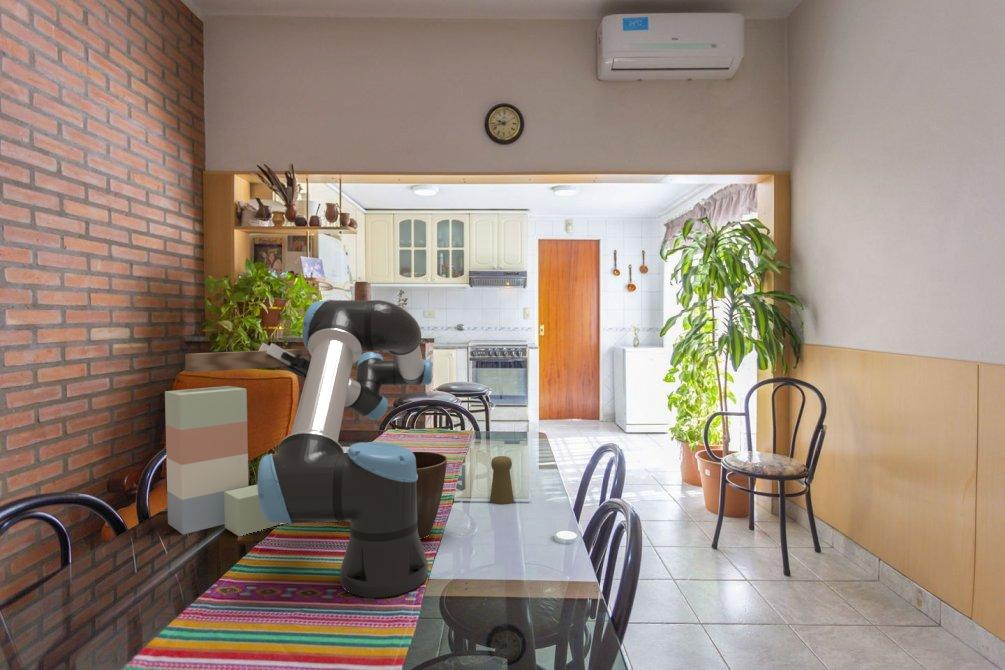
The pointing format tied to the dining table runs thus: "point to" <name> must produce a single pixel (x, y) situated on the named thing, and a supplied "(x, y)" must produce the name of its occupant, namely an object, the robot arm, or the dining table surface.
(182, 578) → the dining table surface
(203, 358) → the walnut bar
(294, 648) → the dining table surface
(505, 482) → the cork
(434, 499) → the plant pot
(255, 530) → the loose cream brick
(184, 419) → the brick tower
